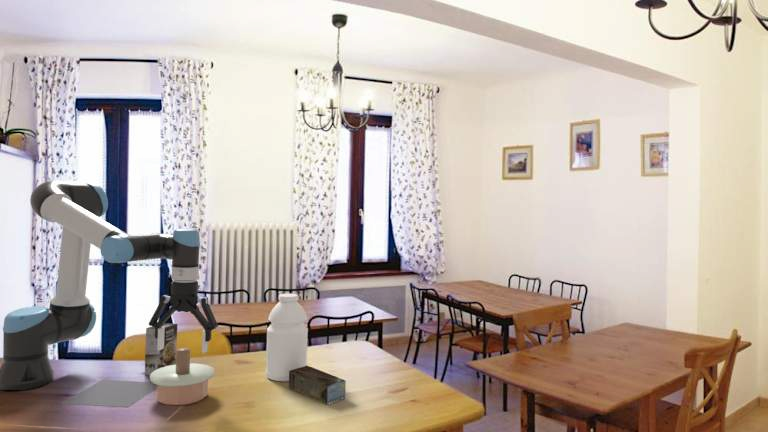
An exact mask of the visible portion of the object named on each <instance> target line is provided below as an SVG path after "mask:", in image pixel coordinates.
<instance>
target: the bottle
mask: <svg viewBox="0 0 768 432" xmlns="http://www.w3.org/2000/svg"><path fill="white" fill-rule="evenodd" d="M298 301H299V295H298V294H296V293H281V294H279V295H278V303H276V304H275V305H274V307H272V309H271V311H270V313H269V316H268V321H269V322H270V325H269V326H268V327H267V328H266V354H265V355H266V356H265V357H266V359H265V361H266V362H265V363H266V364H265V365H266V367H265V376H266V377H267V378H268V379H269V380H272V381H275V382H289V371H290V370H294V369H297V368H301V367H304V366H308V365H307V363H308V362H307V360H308V359H307V358H308V335H309V334H308V332H309V328H308V326H307V325H306V324H305V322H306V321H307V320H308V316H307V313H306V310H305V309H304V307H303V306H302V305H301V304H300V303H299V302H298Z"/></svg>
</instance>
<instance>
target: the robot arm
mask: <svg viewBox="0 0 768 432" xmlns="http://www.w3.org/2000/svg"><path fill="white" fill-rule="evenodd" d="M29 201H30V206H31V209H32V210H33V211H34V213H35V214H36V215H37V216H39V217H40V218H41V219H43V220H45V221H47V222H50V223H56V224H59V225H60V226H61V227H62V228H61V229H62V230H61V241H60V252H59V262H58V270H57V271H58V273H57V281H56V291H55V296H54V297H53V298H51V299H50V300H49V305H48V306H49V307H47V306H45V305H34V306H26V307H21V308H18V309H15V310H13V311H10V312H9V313H7V314H6V315H5V317H4V318H3V319H4V320H3V327H2V331H3V339H2V340H3V346H2V347H3V348H2V349H3V351H2V354H3V356H2V357H3V358H2V362H1V363H2V364H1V366H0V389H1V390H0V391H2V390H20V391H26V390H25V389H28V390H32V388H33V389H37V388H41V387H43V386H46V385H48V384H50V383H52V382H53V381H54V380H55V379H54V378H55V371H54V369H53V367H52V364H51V361H50V358H49V346H50V345H55V344H59V343H62V342H68V341H73V340H77V339H79V338H83V337H86V336H87V335H88V334H90V333H91V332H92V330H93V329H94V327H95V325H96V322H97V312H96V311H95V307H94V306H93V305H92V304H91V303H90V301H91V300H90V299H89V298H88V297H87V296H86V294H87V293H86V292H87V283H88V282H87V281H88V273H89V264H90V263H89V262H90V253H91V245H93V246H95V247H96V248H98V249H100V254H101V256H102V257H103V260H104V261H105V262H108V263H110V264H116V263H117V264H123V263H130V262H137V261H147V260H148V261H149V260H156V259H157V260H158V259H161V260H163V259H164V260H171V261H172V262H171V266H172V267H171V280H172V281H171V285H170V287H171V289H170V290H171V291H170V293H171V295H170V296H169V295H168V294H164V295H161V296H160V298H159V304H158V305H157V307H156V309H155V310H154V313H153V315H152V317H151V318H150V320H149V322H148V325H149V327H152V326H153V327H155V338H156V339H158V343H157V350H159V351H160V350H162V349H163V348H164V333H165V327H161V326H163V324H164V323H166V322H167V321H168V319H170V318H171V317H172V315H174V313H175V312H176V311H177V312H178V313H180V312H183V313H189V312H190V314H192V315H193V316H194V317H195V319H196V320H197V322H198V323H199V324H200V325H201V326H202V328H203V329H204V330H202V333H201V334H202V335H201V338H202V339H201V353H202V354H205V353H206V352H208V351H209V342H210V341H211V340H212V330H215V329H216V328H218V326H219V324H218V322H217V320H216V318H215V316H214V313H213V311H212V308H211V307H210V303H209V302H210V301H209V297H208V296H204V297H199V296H198V293H199V282H198V279H199V274H200V272H199V271H200V270H199V269H200V268H199V265H200V264H199V263H200V261H199V260H200V247H201V241H200V239H201V238H200V232H199V231H198V230H197V229H191V228H190V229H189V228H175V229H174V230H173V231H172V232H173V233H172V234H166V233H160V232H159V233H158V232H152V233H150V232H149V233H146V234H133V235H132V234H128V233H127V232H125V231H123V230H121V229H119V228H118V227H116V226H114V225H112V224H111V223H109V222H107V221H106V220H104V219H102V218H101V217H102V216H104V215H105V213H107V211H108V207H109V200H108V195H107V193H106V192H105V190H104V189H103V188H102V187H101V186H100V185H98V184H96V183H93V182H87V181H85V182H84V181H66V180H65V181H64V180H48V181H46V182H42V183H40V184H39V185H37V187H36V188H34V189H33V191H32V192H31V195H30V199H29ZM169 302H170V303H171V306H170V308H169V309H168V310H167V311H166V312H165V314H164V315H163V316H162V317H161V315H162V314H163V312H164V310H165V307H166V306H167V304H168V303H169ZM198 303H199V305H200V306H201V308H202V311H203V313H204V314H203V313H202V312H201V310H200V308H199V306H198V305H197V304H198ZM160 317H161V318H160Z"/></svg>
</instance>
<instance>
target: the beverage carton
mask: <svg viewBox="0 0 768 432" xmlns="http://www.w3.org/2000/svg"><path fill="white" fill-rule="evenodd" d="M346 383H347V381H346V380H345V379H342V378H340V377H338V376H335V375H333V374H330V373H327V372H326V371H322V370H320V369H318V368H315V367H312V366H310V365H306V366H304V367H301V368H297V369H294V370H290V371H289V381H288V388H289V389H291V390H293V391H295V392H297V393H300V394H302V395H303V396H306V395H307V397H308V396H309V398H310V399H313V398H314V399H313V400H315V399H316V400H315V401H318V400H319V401H318V402H320V401H322V402H321V403H323V402H324V403H323V404H325V403H327V404H328V405H330V404H329V403H331V402H333V403H335V402H334V401H336V402H338V401H337V400H339V399H342V398H344V399H346V393H347V392H346V390H347V389H346V386H347V385H346ZM342 400H343V399H342ZM339 401H340V400H339ZM327 404H326V405H327ZM331 404H332V403H331Z"/></svg>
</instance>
